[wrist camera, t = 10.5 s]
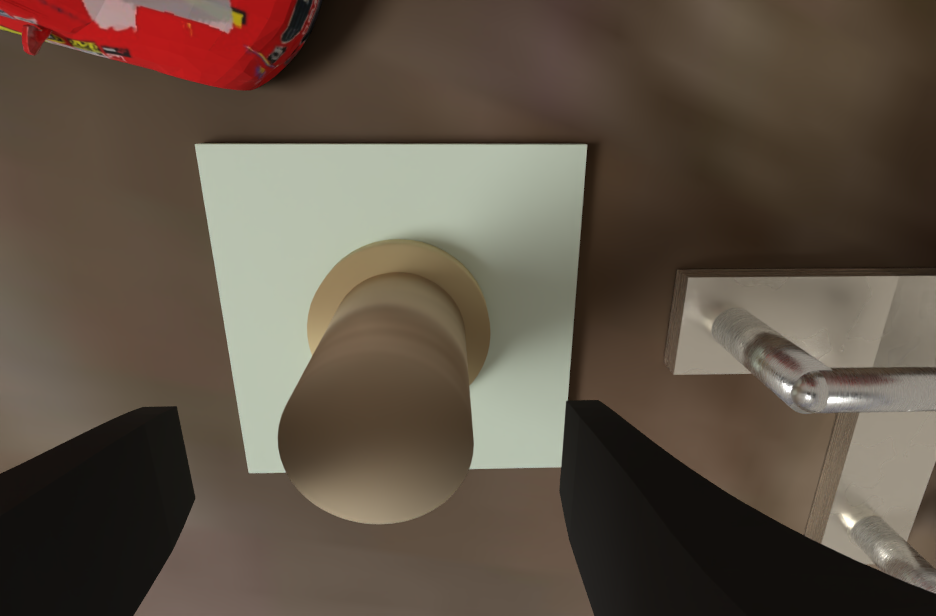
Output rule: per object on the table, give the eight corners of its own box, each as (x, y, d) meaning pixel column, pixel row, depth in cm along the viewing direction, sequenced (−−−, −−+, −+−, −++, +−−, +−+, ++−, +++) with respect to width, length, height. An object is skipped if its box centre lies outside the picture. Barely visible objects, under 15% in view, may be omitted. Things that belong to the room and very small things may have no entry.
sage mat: (560, 459, 18) (562, 466, 18) (253, 465, 18) (248, 473, 17) (583, 143, 15) (587, 144, 14) (201, 143, 14) (194, 144, 14)
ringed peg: (487, 399, 17) (507, 549, 11) (321, 401, 17) (257, 555, 11) (489, 238, 15) (516, 319, 9) (305, 239, 15) (218, 322, 9)
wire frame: (881, 545, 20) (1016, 682, 15) (636, 552, 20) (696, 693, 15) (976, 267, 16) (1193, 333, 11) (677, 269, 16) (773, 338, 11)
